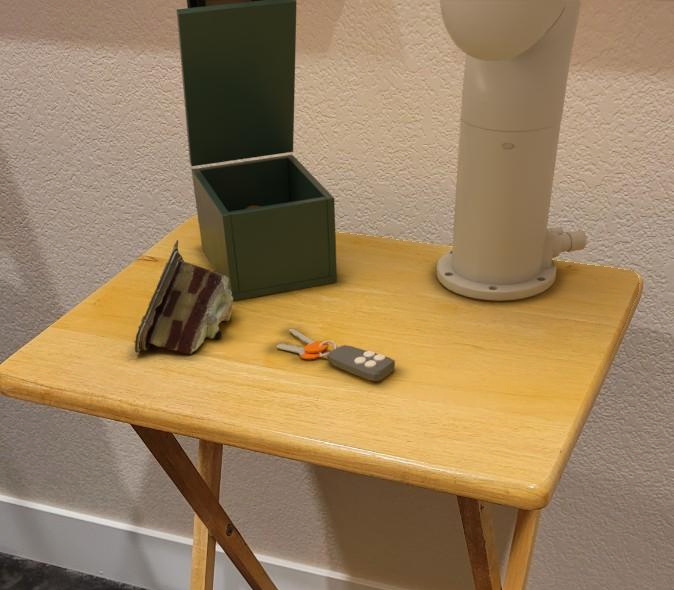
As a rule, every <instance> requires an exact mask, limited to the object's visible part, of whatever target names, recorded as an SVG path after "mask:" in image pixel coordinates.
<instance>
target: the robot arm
mask: <svg viewBox="0 0 674 590" xmlns="http://www.w3.org/2000/svg"><path fill="white" fill-rule="evenodd" d="M252 1H262V0H252ZM439 3H440V5H439V7H440V13H441V17H442V22H443V24H444V25H443V26H444V27H445V30H446V32H447V34H448V36H449V37H450V39H451V41H452V42H453V43H454V45H456V47H457V48H458V49H459V50H460V51H462V52H463V53H464V54H466V57H465V62H464V72H463V82H462V92H461V104H460V105H461V107H460V117H459V132H458V133H459V134H458V150H457V165H456V166H457V167H456V168H457V169H456V181H455V182H456V184H455V199H454V200H455V201H454V215H453V216H454V217H453V233H452V234H453V235H452V249H451V250H448V251H447V252H445V253H444V254H443V255H441V257H440V258H439V259H438V260H437V263H436V277H437V279H438V281H439V283H441V285H442V286H444V287H445V288H446V289H447V290H449V291H451V292H453V293H455V294H457V295H461V296H462V297H463V296H464V297H467V298H472V299H475V300H482V301H483V300H484V301H495V302H496V301H515V300H522V299H526V298H531V297H534V296H536V295H539V294H541V293H543V292H545V291H546V290H548V289H550V287H551V286H552V285H553V284H554V282H555V280H556V275H557V264H556V263H555V261H554V260H553V259H554V258H558V257H559V256H560V254H561V253H566V252H567V253H570V252H576V251H581V250H584V249H585V248H586V246H587V241H588V239H587V234H586V232H585V231H583V230H575V231H570V232H565V233H564V229H563V227H562V226H554V227H549V228H548V222H549V215H550V208H551V200H552V191H553V185H554V177H555V170H556V169H555V168H556V161H557V154H558V146H559V140H560V139H559V138H560V133H561V132H560V131H561V123H562V119H563V113H564V107H565V106H564V105H565V98H566V91H567V86H568V85H567V84H568V77H569V71H570V65H571V59H572V53H573V47H574V43H575V42H574V41H575V37H576V31H577V27H578V22H579V17H580V11H581V7H582V6H581V5H582V0H439ZM186 6H187V7H186V8H195V7H205V6H206V3H205V0H186Z"/></svg>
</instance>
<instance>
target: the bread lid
mask: <svg viewBox="0 0 674 590" xmlns="http://www.w3.org/2000/svg"><path fill="white" fill-rule="evenodd" d="M205 3H206V6H205V7H195V8H188V7H186V8H177V9H176V18H177V31H178V42H179V53H180V55H179V56H180V66H181V76H182V88H183V101H184V112H185V113H184V114H185V120H186V121H185V123H186V134H187V145H188V157H189V158H188V159H189V164H190V167H197V166H198V167H199V166H205V165H212V164H218V163H219V164H220V163H226V162H232V161H239V160H246V159H253V158H260V157H268V156H273V155H274V156H275V155H282V154H288V153H294V139H295V138H294V132H295V87H296V47H297V46H296V44H297V36H296V35H297V4H298V3H297V0H262V1H252V0H205Z"/></svg>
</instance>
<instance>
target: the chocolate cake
mask: <svg viewBox="0 0 674 590" xmlns="http://www.w3.org/2000/svg"><path fill="white" fill-rule="evenodd" d="M228 281H229V279H228V278H227V277H226V276H225V275H222V274H219V273H216V271H215V270H214V271H213V270H211V269H208V268H205V267H203V266H199V265H197V264H193V263H191V262H186V261H185V260H184V258H183V256H182V255H181V254H180V252H179V240H178V239H177V240H176V242H175V243H174V245H173V247H172V251H171V253H170V255H169V258H168V259H167V262H166V263H165V266H164V268H163V269H162V273H161V275H160V277H159V280H158V282H157V285H156V288H155V290H154V293H153V295H152V296H151V297H150V298H151V299H150V300H149V303H148V307H147V309H146V312H145V313H144V315H143V316H141V317H142V318H141V321H140V324H139V326H138V327H137V328H138V329H137V331H136V334H135V340H134V352H135V354H136V353H139V352H141V351H145V352H146V351H148V350H149V349H150V346H151V344H152V345H154V346H156V347H162V348H164V349H167V350H173V351H176V352H180V353H183V354H187V355H191V354H192V353H193V352H195V351H197V350H198V349H199V347H201V345H202V344H203V343H204V342H205V339H206V338H208V339H220V338H222V336H223V331H222V330H220V327H219V324H221V322H222V321H224V322H228V321H230V320H231V315H232V314H233V304H234V303H233V302H234V301H233V297H232V296H231V295H232V293H231V291H230V290H229V289H228Z"/></svg>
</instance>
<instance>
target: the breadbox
mask: <svg viewBox="0 0 674 590" xmlns="http://www.w3.org/2000/svg"><path fill="white" fill-rule="evenodd" d="M191 178H192V185H193V191H194V198H195V199H194V200H195V206H196V207H195V208H196V213H197V214H196V215H197V221H198V227H199V236H200V242H201V248H202V251H203V253H204V254H205V256H206V258H207V259H208V261H209V263H210V265H211V266H212V268H213V270H214V272H216V273H219V274H222V275H225V276H226V277H227V278H228V279H229V281H228V289H229V290H230V291H231V293H232V295H231V296H232V297H233V302H236V301H241V300H246V299H251V298H257V297H262V296H263V297H264V296H268V295H275V294H280V293H286V292H292V291H297V290H302V289H307V288H313V287H318V286H320V287H321V286H325V285H329V284H335V283H336V284H337V283H338V276H337V275H338V267H337V239H336V238H337V237H336V236H337V235H336V210H335V209H336V208H335V207H336V206H335V204H336V203H335V197H334V196H333V195H332V194H331V193H330V192H329V191H328V190H327V189H326V188H325V186H323V185H322V184H321V183H320V181H319V180H318V179H317V178H316V177H315V176H314V175H313V174H312V173H311V172H310V171H309V170H308V168H306V167H305V166H304V165H303V164H302V162H300V161H299V160H298V158H297V157H295V156H294V155H293V154H287V155H279V156H273V157H266V158H258V159H252V160H246V161H238V162H231V163H224V164H217V165H210V166H204V167H203V166H202V167H197V168H191ZM250 206H260V207H257V208H250V209H246V208H248V207H250Z"/></svg>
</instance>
